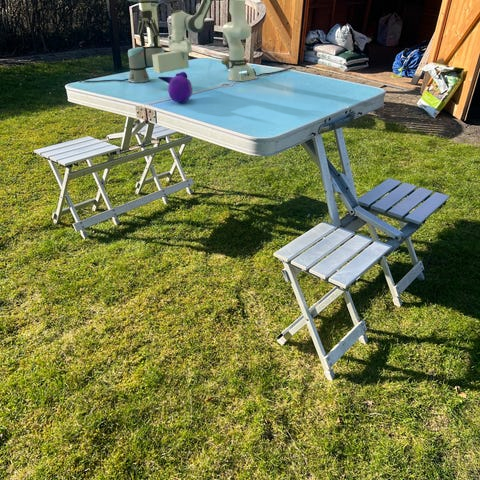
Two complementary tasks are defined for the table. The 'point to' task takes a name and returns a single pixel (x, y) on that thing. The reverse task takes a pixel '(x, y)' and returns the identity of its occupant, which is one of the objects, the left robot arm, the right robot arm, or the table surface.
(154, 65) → the box
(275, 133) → the table surface
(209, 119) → the table surface
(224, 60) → the cream textured rounded piece
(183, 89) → the toy
